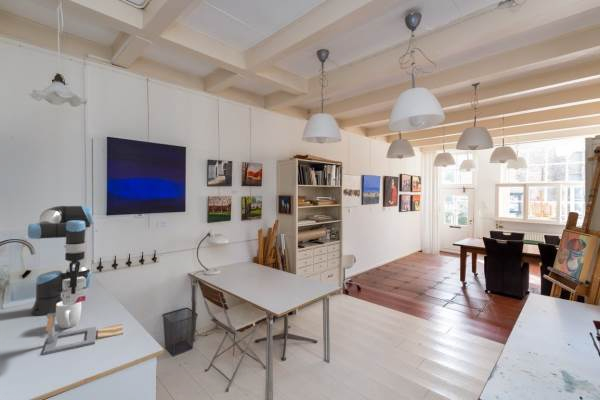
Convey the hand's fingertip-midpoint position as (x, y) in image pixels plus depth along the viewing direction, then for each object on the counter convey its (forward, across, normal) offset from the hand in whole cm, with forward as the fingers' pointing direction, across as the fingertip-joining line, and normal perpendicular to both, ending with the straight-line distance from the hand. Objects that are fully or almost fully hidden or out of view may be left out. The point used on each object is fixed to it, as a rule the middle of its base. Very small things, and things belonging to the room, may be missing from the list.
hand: (73, 297), depth 142 cm
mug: (+22, -19, -3) cm, 29 cm away
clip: (+8, +8, -8) cm, 14 cm away
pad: (+22, -1, +16) cm, 27 cm away
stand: (+22, 0, 0) cm, 22 cm away
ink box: (+2, 0, 0) cm, 2 cm away
